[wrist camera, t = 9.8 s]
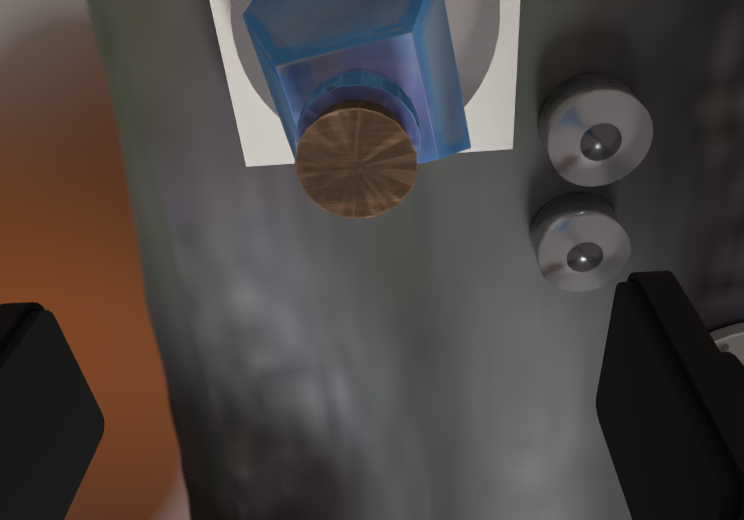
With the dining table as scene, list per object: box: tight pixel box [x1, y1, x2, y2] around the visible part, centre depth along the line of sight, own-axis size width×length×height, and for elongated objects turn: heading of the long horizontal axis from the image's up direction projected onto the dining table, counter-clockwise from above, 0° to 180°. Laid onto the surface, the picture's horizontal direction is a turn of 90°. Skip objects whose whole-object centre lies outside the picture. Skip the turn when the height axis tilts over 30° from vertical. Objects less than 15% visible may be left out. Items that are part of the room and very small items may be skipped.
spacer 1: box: [538, 72, 653, 187], centre depth 32 cm, size 5×5×3 cm
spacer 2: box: [530, 192, 631, 292], centre depth 36 cm, size 5×5×3 cm
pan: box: [231, 0, 500, 117], centre depth 26 cm, size 11×11×1 cm
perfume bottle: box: [242, 0, 471, 219], centre depth 21 cm, size 6×6×12 cm
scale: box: [210, 0, 520, 167], centre depth 28 cm, size 13×14×4 cm
